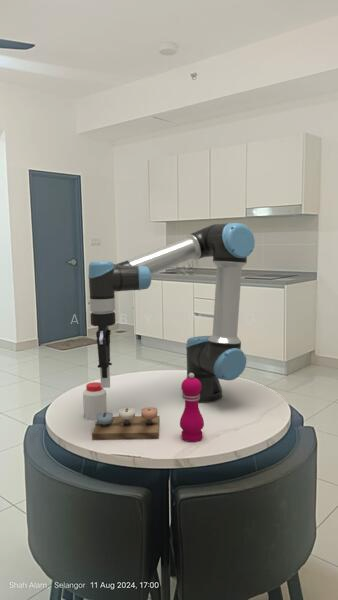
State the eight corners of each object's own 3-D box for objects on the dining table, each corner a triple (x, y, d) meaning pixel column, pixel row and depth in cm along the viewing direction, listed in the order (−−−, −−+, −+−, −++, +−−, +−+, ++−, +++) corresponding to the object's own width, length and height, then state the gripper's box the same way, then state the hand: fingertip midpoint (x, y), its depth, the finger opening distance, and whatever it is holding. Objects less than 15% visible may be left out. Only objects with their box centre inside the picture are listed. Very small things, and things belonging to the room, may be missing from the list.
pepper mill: (178, 433, 149) (177, 370, 147) (202, 432, 150) (201, 369, 147) (181, 443, 142) (180, 376, 140) (205, 441, 143) (205, 375, 140)
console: (159, 421, 159) (159, 415, 159) (158, 438, 145) (158, 432, 145) (98, 422, 159) (98, 416, 159) (92, 440, 145) (91, 433, 145)
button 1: (157, 419, 155) (157, 406, 154) (157, 425, 150) (157, 412, 149) (141, 420, 155) (141, 406, 154) (141, 426, 150) (140, 412, 149)
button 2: (135, 420, 155) (135, 407, 154) (134, 426, 150) (134, 412, 149) (119, 420, 155) (119, 407, 154) (118, 426, 150) (118, 412, 149)
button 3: (113, 424, 155) (113, 411, 154) (112, 431, 150) (111, 417, 149) (98, 425, 155) (97, 411, 154) (95, 431, 150) (95, 417, 149)
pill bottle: (88, 421, 161) (86, 389, 159) (81, 414, 167) (79, 383, 166) (110, 417, 164) (109, 385, 163) (102, 410, 171) (101, 380, 170)
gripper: (93, 309, 154) (96, 381, 157) (86, 315, 141) (90, 393, 144) (117, 308, 154) (119, 380, 157) (112, 314, 141) (115, 393, 144)
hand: (105, 386), depth 151 cm, fingers closed
